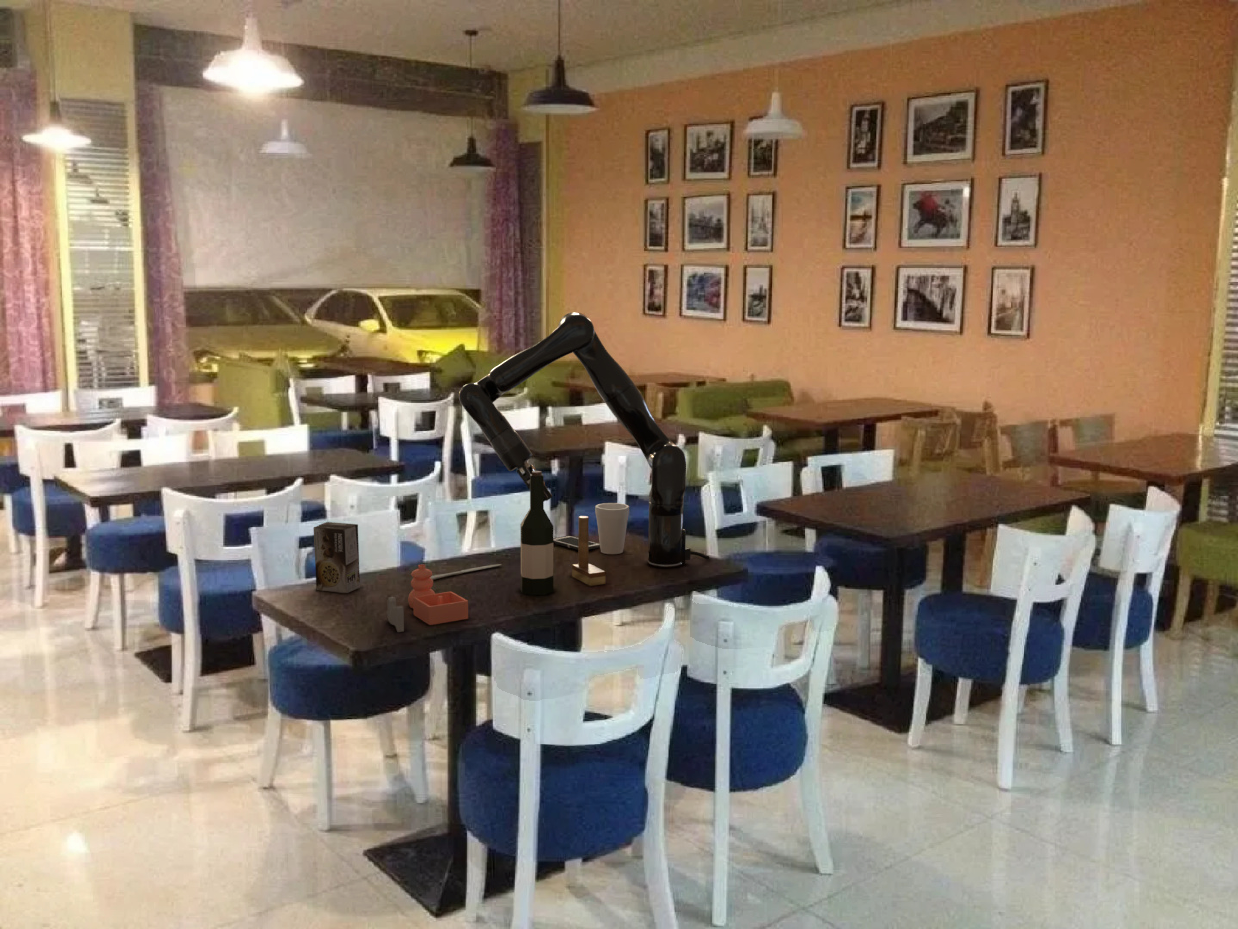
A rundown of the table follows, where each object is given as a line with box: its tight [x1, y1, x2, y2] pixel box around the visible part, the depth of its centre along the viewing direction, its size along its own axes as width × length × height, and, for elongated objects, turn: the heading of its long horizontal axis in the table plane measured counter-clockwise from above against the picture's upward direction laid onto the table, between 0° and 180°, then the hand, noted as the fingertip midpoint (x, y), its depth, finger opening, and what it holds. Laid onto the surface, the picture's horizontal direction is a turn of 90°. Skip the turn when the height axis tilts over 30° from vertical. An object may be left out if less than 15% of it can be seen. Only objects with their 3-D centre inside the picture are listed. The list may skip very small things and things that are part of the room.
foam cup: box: [594, 502, 630, 555], centre depth 326 cm, size 10×9×13 cm
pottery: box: [407, 564, 469, 626], centre depth 268 cm, size 18×10×10 cm, turn 33°
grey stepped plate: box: [386, 596, 405, 633], centre depth 258 cm, size 6×1×10 cm
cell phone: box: [553, 535, 600, 551], centre depth 334 cm, size 8×15×1 cm, turn 43°
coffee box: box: [312, 521, 361, 594], centre depth 285 cm, size 9×6×16 cm
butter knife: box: [430, 564, 501, 581], centre depth 303 cm, size 1×24×3 cm
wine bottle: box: [520, 470, 554, 596], centre depth 284 cm, size 8×8×30 cm
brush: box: [571, 515, 606, 587], centre depth 296 cm, size 10×4×16 cm, turn 29°
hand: (547, 499), depth 299 cm, fingers open, 8 cm apart
